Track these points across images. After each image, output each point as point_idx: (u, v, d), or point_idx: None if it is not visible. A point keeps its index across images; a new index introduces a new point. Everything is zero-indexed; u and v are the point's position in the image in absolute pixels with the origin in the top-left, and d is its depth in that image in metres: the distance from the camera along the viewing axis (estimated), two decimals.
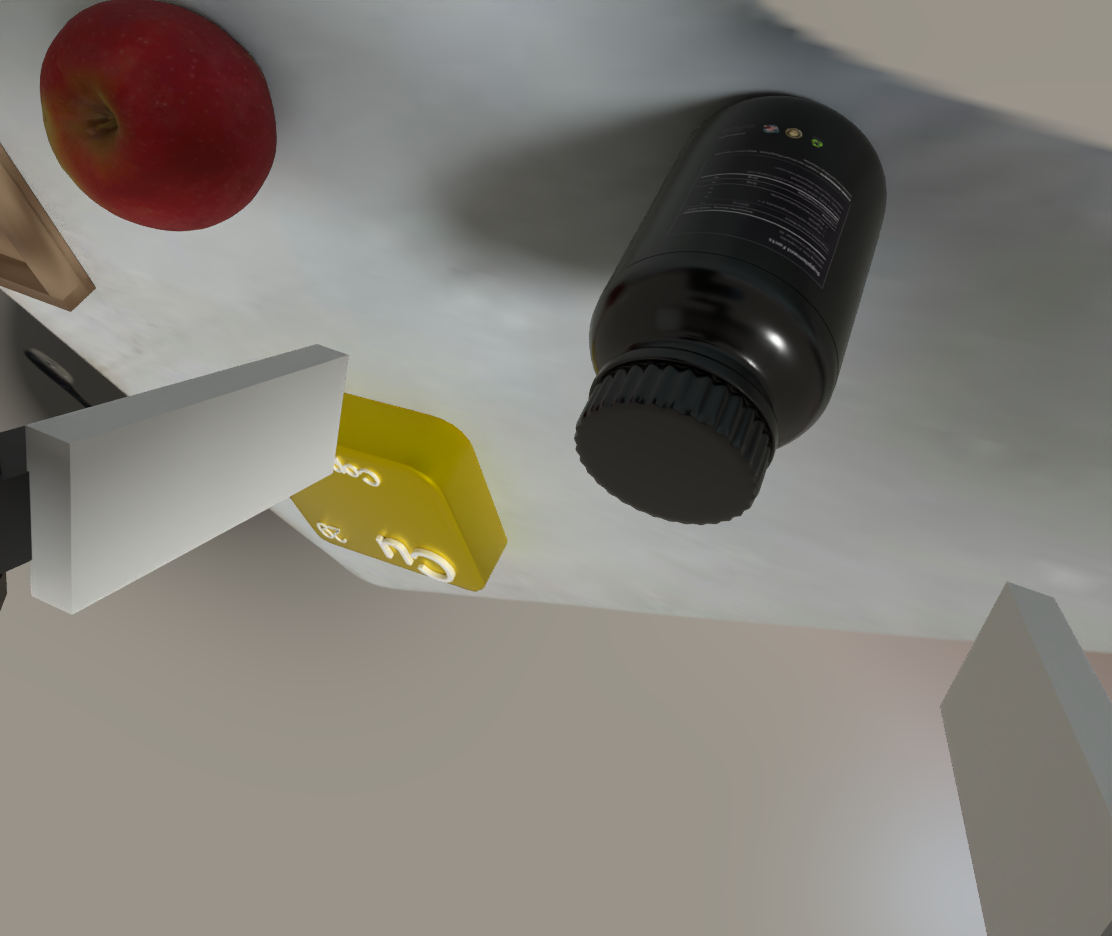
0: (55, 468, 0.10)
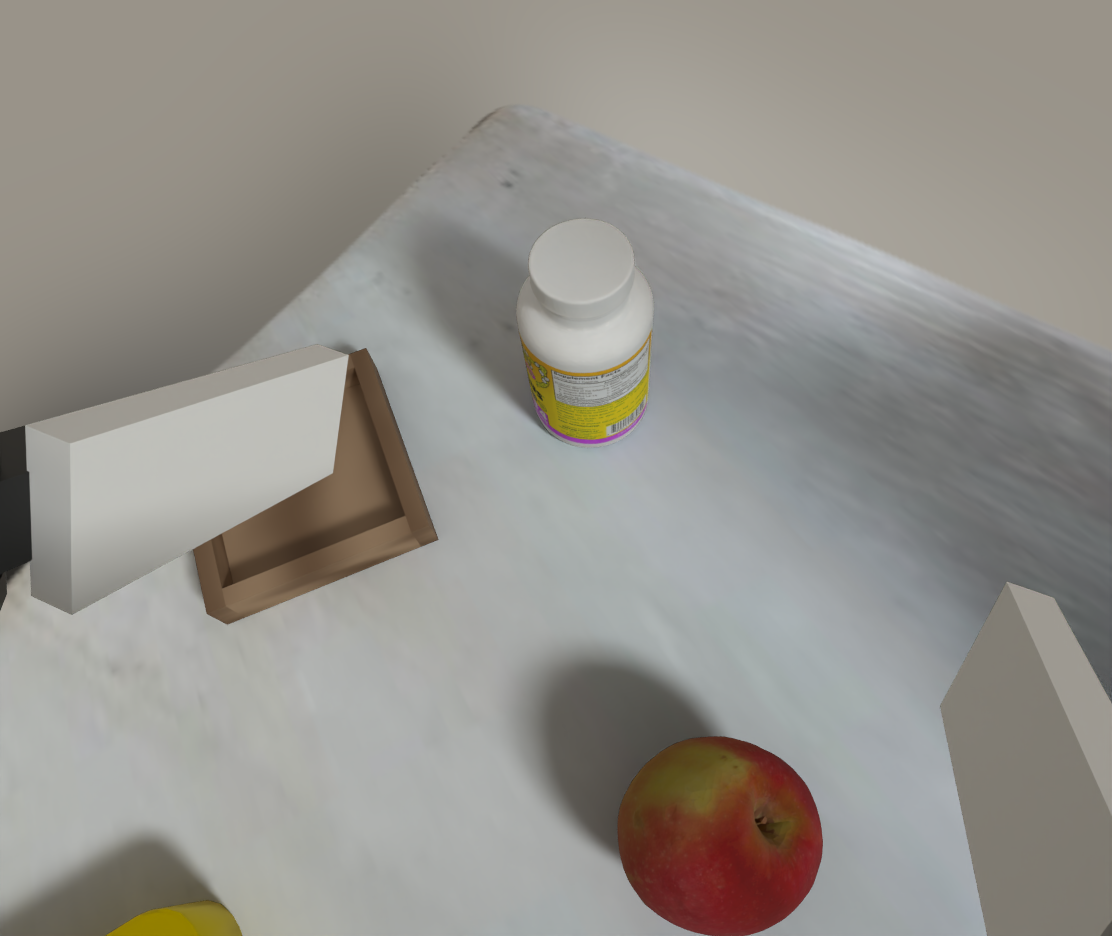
0: (55, 468, 0.10)
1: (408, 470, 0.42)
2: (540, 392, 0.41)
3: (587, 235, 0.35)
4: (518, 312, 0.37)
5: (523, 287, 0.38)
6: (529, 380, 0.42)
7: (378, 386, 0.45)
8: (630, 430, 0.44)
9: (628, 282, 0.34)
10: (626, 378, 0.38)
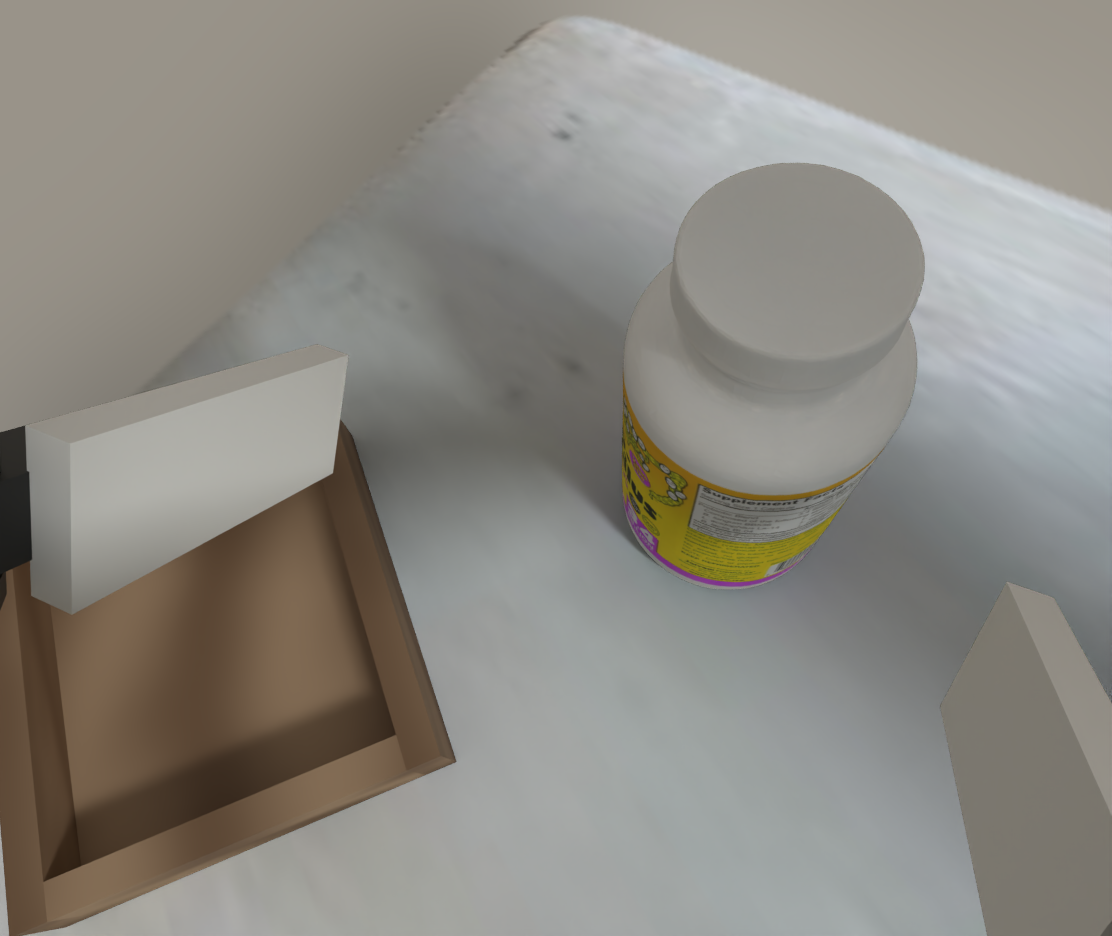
0: (55, 468, 0.10)
1: (402, 641, 0.23)
2: (654, 508, 0.21)
3: (806, 200, 0.15)
4: (632, 364, 0.18)
5: (641, 311, 0.18)
6: (628, 479, 0.23)
7: (351, 476, 0.25)
8: None
9: (912, 309, 0.15)
10: (842, 495, 0.19)
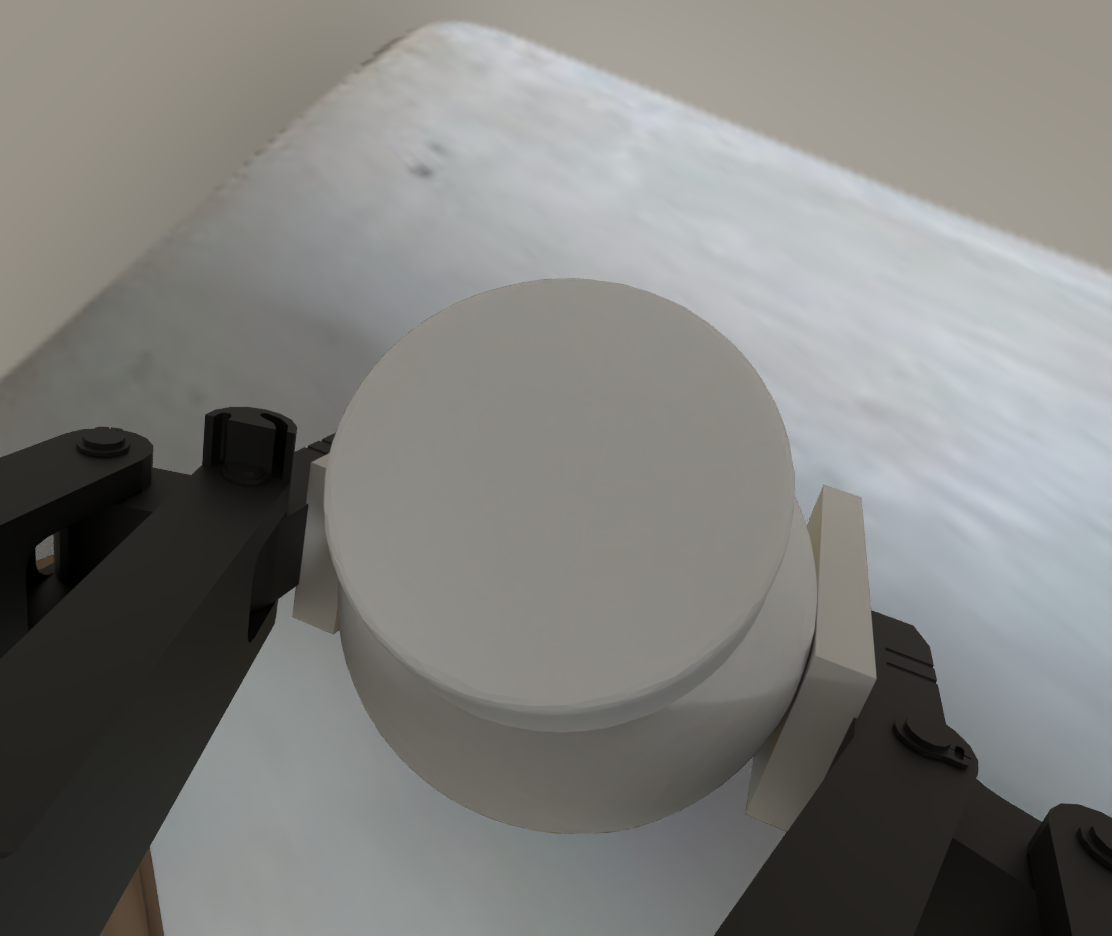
0: None
1: None
2: None
3: (582, 354, 0.08)
4: (339, 599, 0.11)
5: None
6: None
7: None
8: None
9: (772, 585, 0.07)
10: None
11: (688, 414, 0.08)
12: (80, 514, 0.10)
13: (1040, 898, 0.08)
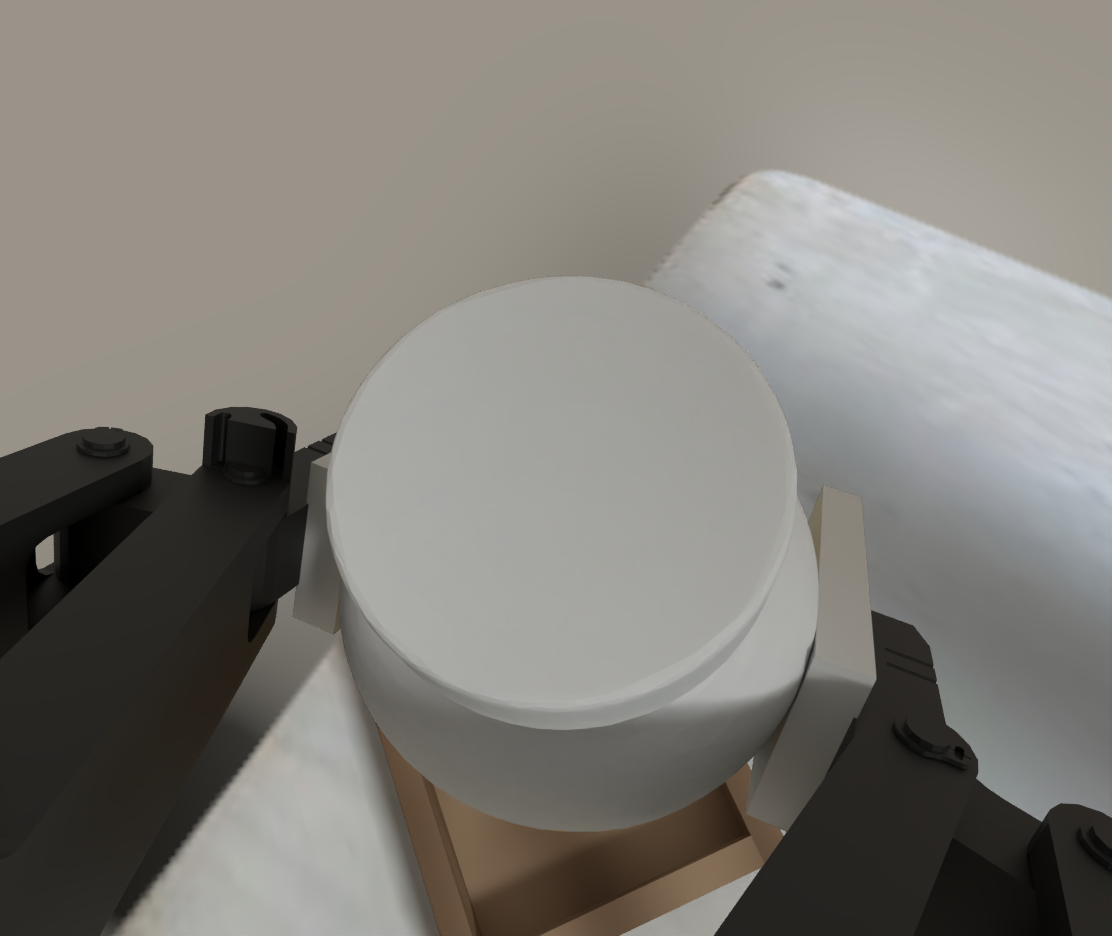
0: None
1: None
2: None
3: (584, 351, 0.08)
4: (340, 597, 0.11)
5: None
6: None
7: None
8: None
9: (774, 582, 0.07)
10: None
11: (690, 411, 0.08)
12: (80, 514, 0.10)
13: (1040, 898, 0.08)
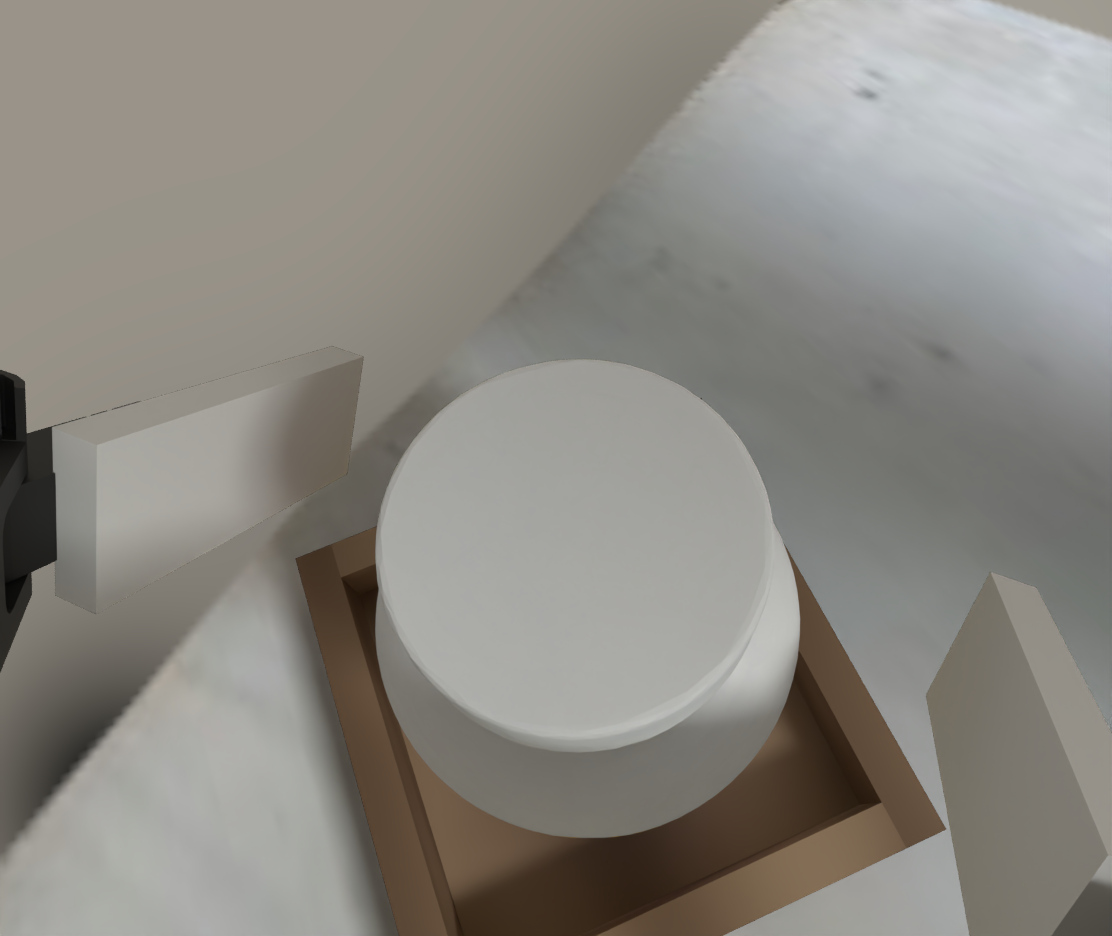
0: (81, 469, 0.11)
1: (860, 683, 0.19)
2: None
3: (595, 428, 0.10)
4: (377, 630, 0.12)
5: None
6: None
7: None
8: None
9: None
10: None
11: (685, 481, 0.09)
12: None
13: None
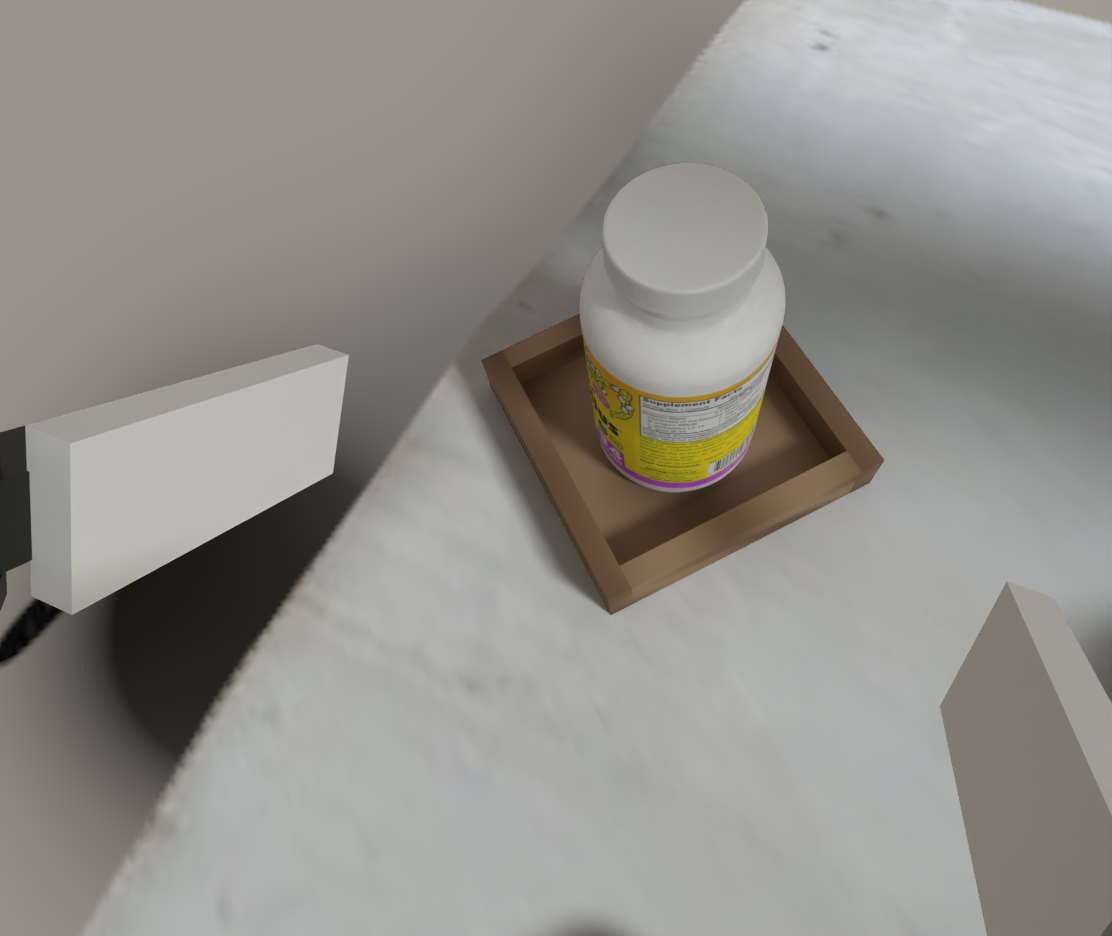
0: (55, 468, 0.10)
1: (831, 392, 0.32)
2: (615, 425, 0.29)
3: (688, 188, 0.23)
4: (584, 314, 0.25)
5: (588, 276, 0.25)
6: (595, 408, 0.30)
7: None
8: (736, 464, 0.32)
9: (762, 254, 0.22)
10: (746, 398, 0.26)
11: (729, 203, 0.22)
12: None
13: None
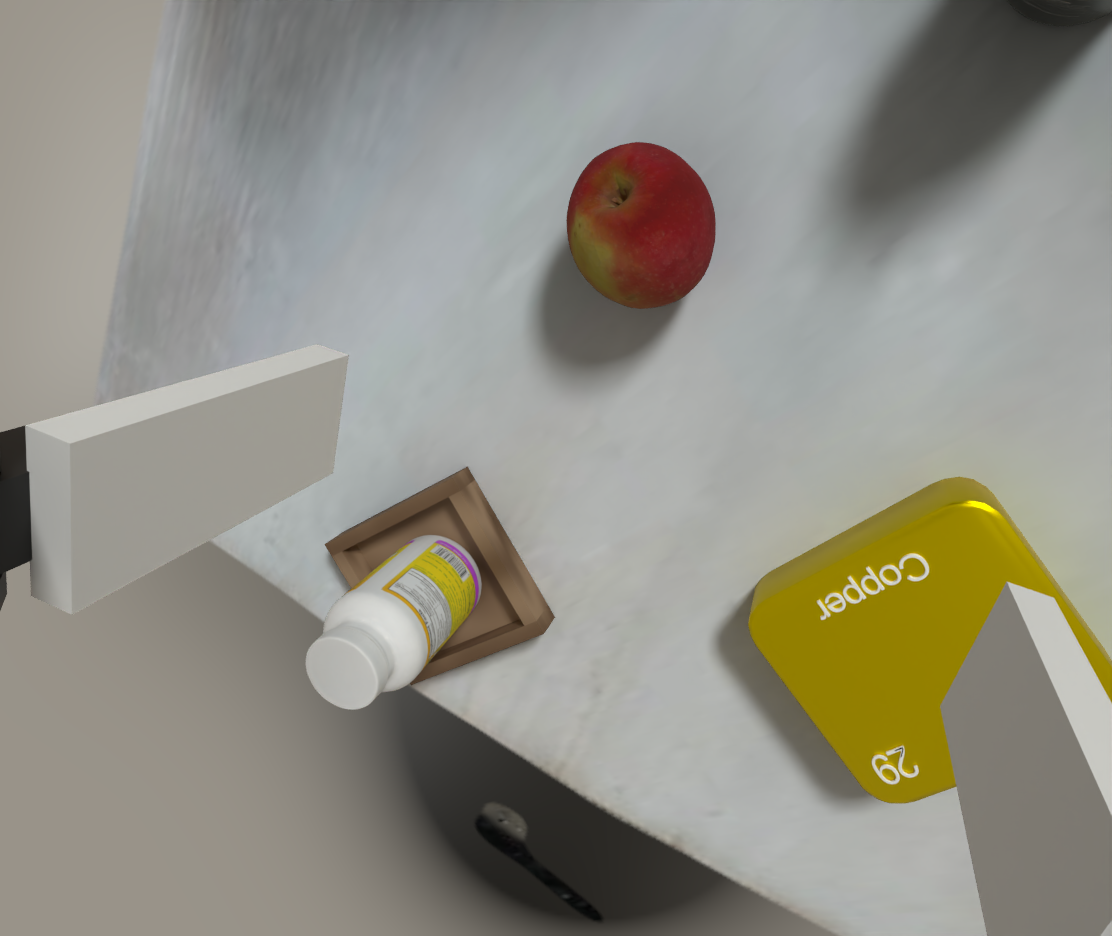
0: (55, 468, 0.10)
1: (413, 498, 0.52)
2: None
3: (320, 668, 0.44)
4: (387, 691, 0.47)
5: None
6: None
7: (353, 530, 0.55)
8: (462, 551, 0.53)
9: (353, 639, 0.43)
10: (424, 596, 0.48)
11: (327, 653, 0.44)
12: None
13: None
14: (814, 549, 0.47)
